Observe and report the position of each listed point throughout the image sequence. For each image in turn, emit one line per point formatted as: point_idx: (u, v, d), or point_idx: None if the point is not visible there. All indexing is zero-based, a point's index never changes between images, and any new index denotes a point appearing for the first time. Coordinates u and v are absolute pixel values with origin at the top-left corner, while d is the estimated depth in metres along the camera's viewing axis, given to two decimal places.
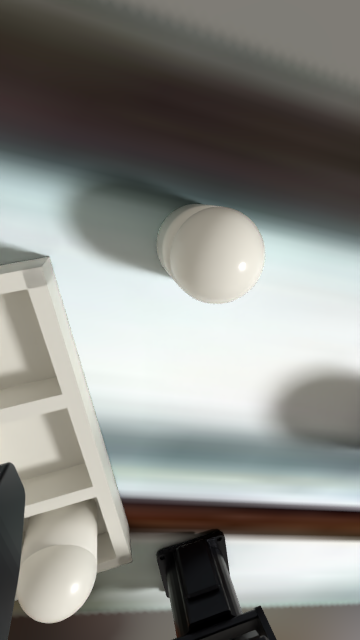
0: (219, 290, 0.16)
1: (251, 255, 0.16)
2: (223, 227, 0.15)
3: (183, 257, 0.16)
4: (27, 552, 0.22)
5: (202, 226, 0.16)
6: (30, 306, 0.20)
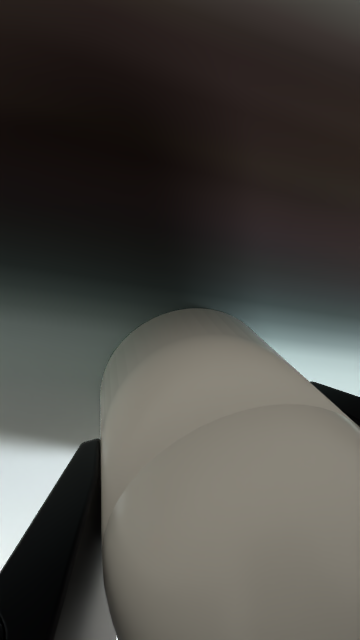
0: None
1: None
2: (311, 588, 0.03)
3: None
4: None
5: (213, 554, 0.04)
6: None
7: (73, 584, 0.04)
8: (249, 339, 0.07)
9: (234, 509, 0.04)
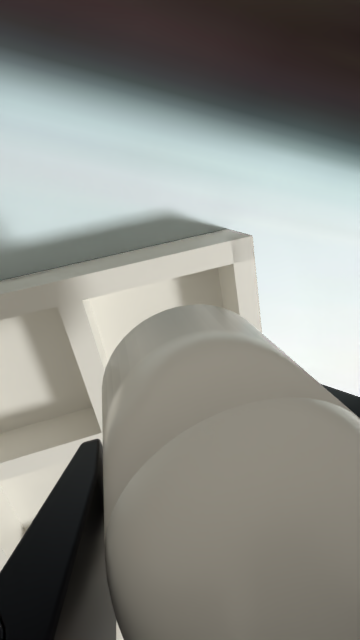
0: None
1: None
2: (317, 579, 0.03)
3: None
4: None
5: (218, 546, 0.04)
6: (206, 288, 0.17)
7: (73, 584, 0.04)
8: (251, 334, 0.07)
9: (238, 501, 0.04)
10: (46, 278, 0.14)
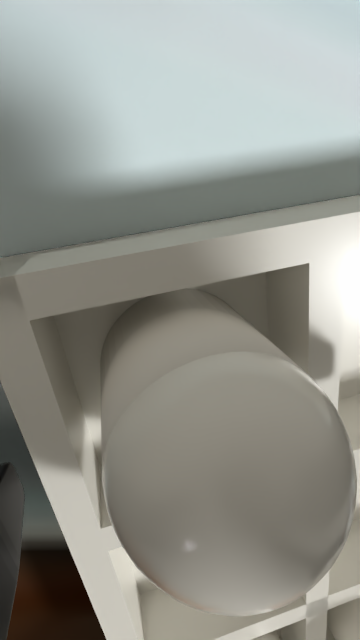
0: (234, 616, 0.06)
1: (334, 536, 0.05)
2: (251, 465, 0.05)
3: (127, 526, 0.05)
4: None
5: (183, 448, 0.05)
6: None
7: None
8: (226, 311, 0.09)
9: (199, 417, 0.05)
10: (277, 219, 0.09)
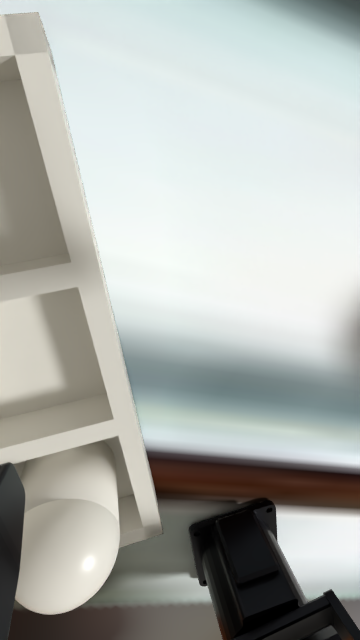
0: None
1: None
2: None
3: None
4: None
5: None
6: (22, 129, 0.13)
7: None
8: None
9: None
10: None
